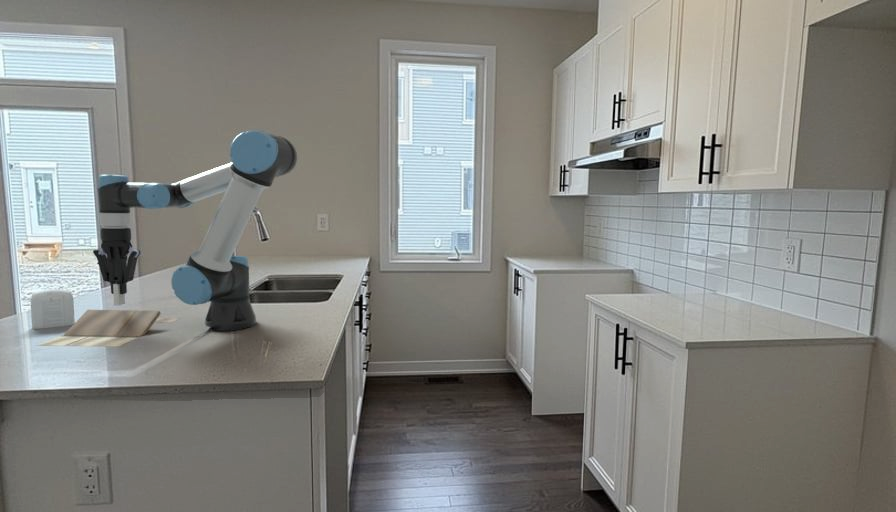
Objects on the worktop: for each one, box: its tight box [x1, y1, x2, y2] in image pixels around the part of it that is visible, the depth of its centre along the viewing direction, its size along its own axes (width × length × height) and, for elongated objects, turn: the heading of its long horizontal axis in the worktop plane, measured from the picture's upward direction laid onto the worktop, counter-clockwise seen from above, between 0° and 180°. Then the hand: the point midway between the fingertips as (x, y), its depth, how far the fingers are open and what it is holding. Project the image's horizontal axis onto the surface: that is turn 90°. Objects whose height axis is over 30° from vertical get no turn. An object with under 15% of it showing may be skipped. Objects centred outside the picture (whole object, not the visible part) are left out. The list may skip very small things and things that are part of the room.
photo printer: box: [29, 289, 76, 330], centre depth 146 cm, size 10×4×12 cm, turn 123°
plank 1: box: [63, 309, 161, 338], centre depth 142 cm, size 22×11×1 cm, turn 90°
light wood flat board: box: [37, 334, 140, 348], centre depth 132 cm, size 22×9×1 cm, turn 90°
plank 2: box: [153, 317, 181, 324], centre depth 155 cm, size 20×6×1 cm, turn 95°
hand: (119, 304), depth 145 cm, fingers closed
